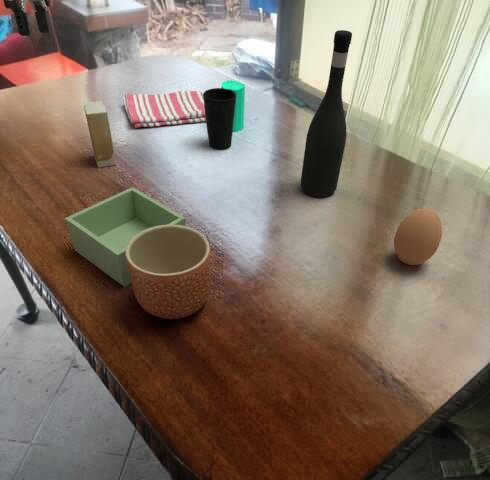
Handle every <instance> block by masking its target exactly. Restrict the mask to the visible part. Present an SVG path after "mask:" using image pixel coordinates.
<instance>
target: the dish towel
mask: <svg viewBox="0 0 490 480" xmlns="http://www.w3.org/2000/svg"><path fill="white" fill-rule="evenodd" d="M203 93H204V92H202V91H200V90H181V91H175V92H169V93H155V94H148V93H138V94H137V93H134V94H131V93H128V92H125V94H124V95H122V98H123V103H124V104H123V105H124V108H125V112H126V114H127V116H128V119H129V121H130V123H131V124H133V125H134V127H135V129H139V128H141V127H144V128H145V127H146V128H148V127H150V128H151V127H161V126H167V125H168V126H169V125H170V126H171V125H181V124H190V123H191V124H192V123H201V122H206V116H205V107H204V99H203Z"/></svg>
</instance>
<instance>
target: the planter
mask: <svg viewBox="0 0 490 480" xmlns="http://www.w3.org/2000/svg"><path fill="white" fill-rule="evenodd" d="M125 256H126V263H127V267H128V271H129V275H130V278H131V282H132V283H131V285H132V289H133V293H134V296H135V299H136V300H137V302H138V304H139V305H140V307H141V308H142V309H143V310H144V311H145V312H147V313H148V314H150V315H151V316H154V317H156V318H159V319H164V320H177V319H178V320H179V319H183V318H186V317H189V316H191V315H193V314H195V313H197V312H198V311H199V310H200V309H201V308H202V307H203V306H204V305H205V303H206V301H207V299H208V297H209V294H210V289H211V268H212V267H211V266H212V264H211V262H212V252H211V245H210V242H209V240H208V239H207V237H206V236H205V235H204V234H203V233H202V232H200V231H199V230H197V229H195V228H193V227H189V226H187V225H186V226H182V225H160V226H155V227H151V228H148V229H145V230H143V231H141V232H139V233H138V234H136V235H135V236H134V237H133V238H132V239H131V240H130V241H129V243H128V244H127V247H126V251H125Z"/></svg>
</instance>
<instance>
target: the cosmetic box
mask: <svg viewBox="0 0 490 480" xmlns="http://www.w3.org/2000/svg"><path fill="white" fill-rule="evenodd" d="M83 110H84V114H85V118H86V123H87V128H88V133H89V138H90V142H91V146H92V152H93V155H94V160H95V163H96V165H97V168H104V167H113V166H117V160H116V154H115V148H114V143H113V138H112V131H111V127H110V121H109V114H108V111H107V108H106V106H105V104H104V101H103V100H97V101H87V102H83Z"/></svg>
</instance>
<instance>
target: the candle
mask: <svg viewBox="0 0 490 480" xmlns="http://www.w3.org/2000/svg"><path fill="white" fill-rule="evenodd" d="M221 88H224V89H229V90H232V91H234V92H235V93H236V103H235V113H234V123H233V132H232V133H235V132H237V133H238V132H240V131H242V130H244V127H245V95H246V94H245V93H246V85H245V83H242V82H240V81H237V80H234V77H232V79H228V80H225V81H223V82H221Z"/></svg>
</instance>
